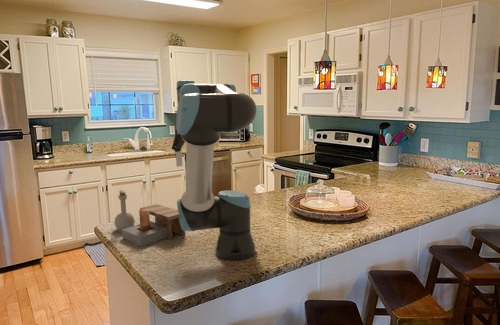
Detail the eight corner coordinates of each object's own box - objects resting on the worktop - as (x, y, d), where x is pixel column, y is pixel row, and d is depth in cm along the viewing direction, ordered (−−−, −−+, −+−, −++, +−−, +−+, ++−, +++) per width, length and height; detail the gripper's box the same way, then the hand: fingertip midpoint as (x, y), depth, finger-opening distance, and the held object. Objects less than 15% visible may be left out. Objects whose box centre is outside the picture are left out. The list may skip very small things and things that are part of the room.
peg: (152, 237, 156) (150, 210, 154) (144, 240, 153) (142, 212, 151) (147, 235, 159) (145, 208, 157) (139, 237, 156) (137, 210, 154)
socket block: (169, 236, 156) (169, 227, 156) (140, 246, 146) (140, 237, 145) (150, 229, 165) (150, 221, 165) (122, 238, 155) (121, 229, 154)
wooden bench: (186, 234, 158) (184, 212, 157) (169, 240, 152) (168, 217, 151) (157, 224, 172) (156, 203, 171) (141, 229, 166) (140, 208, 164)
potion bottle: (128, 224, 173) (125, 187, 170) (138, 228, 167) (136, 190, 164) (110, 229, 166) (107, 191, 163) (121, 233, 161) (118, 194, 158)
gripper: (214, 118, 148) (216, 169, 152) (176, 117, 164) (178, 163, 168) (200, 119, 143) (202, 172, 146) (162, 117, 159) (164, 166, 162)
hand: (189, 167), depth 157 cm, fingers open, 13 cm apart
